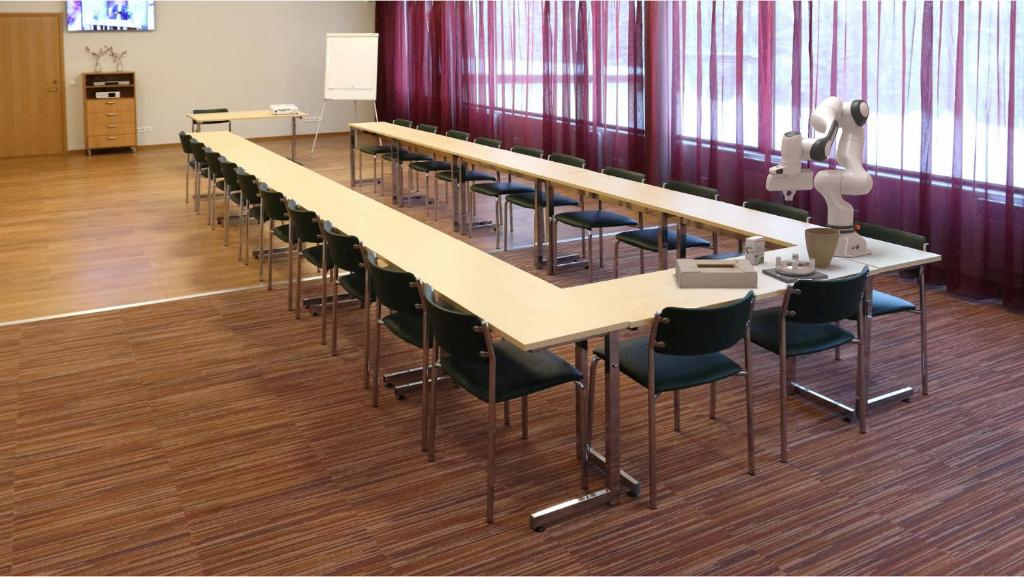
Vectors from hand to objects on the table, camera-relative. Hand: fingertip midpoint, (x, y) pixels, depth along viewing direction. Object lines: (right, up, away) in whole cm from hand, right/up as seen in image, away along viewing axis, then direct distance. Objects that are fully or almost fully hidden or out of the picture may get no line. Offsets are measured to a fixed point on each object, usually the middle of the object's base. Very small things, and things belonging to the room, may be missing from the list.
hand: (788, 200), depth 422 cm
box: (-36, -36, -16) cm, 54 cm away
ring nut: (-1, -32, -13) cm, 34 cm away
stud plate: (-1, -34, -12) cm, 36 cm away
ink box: (-12, -28, +12) cm, 32 cm away
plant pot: (+15, -29, +3) cm, 33 cm away
